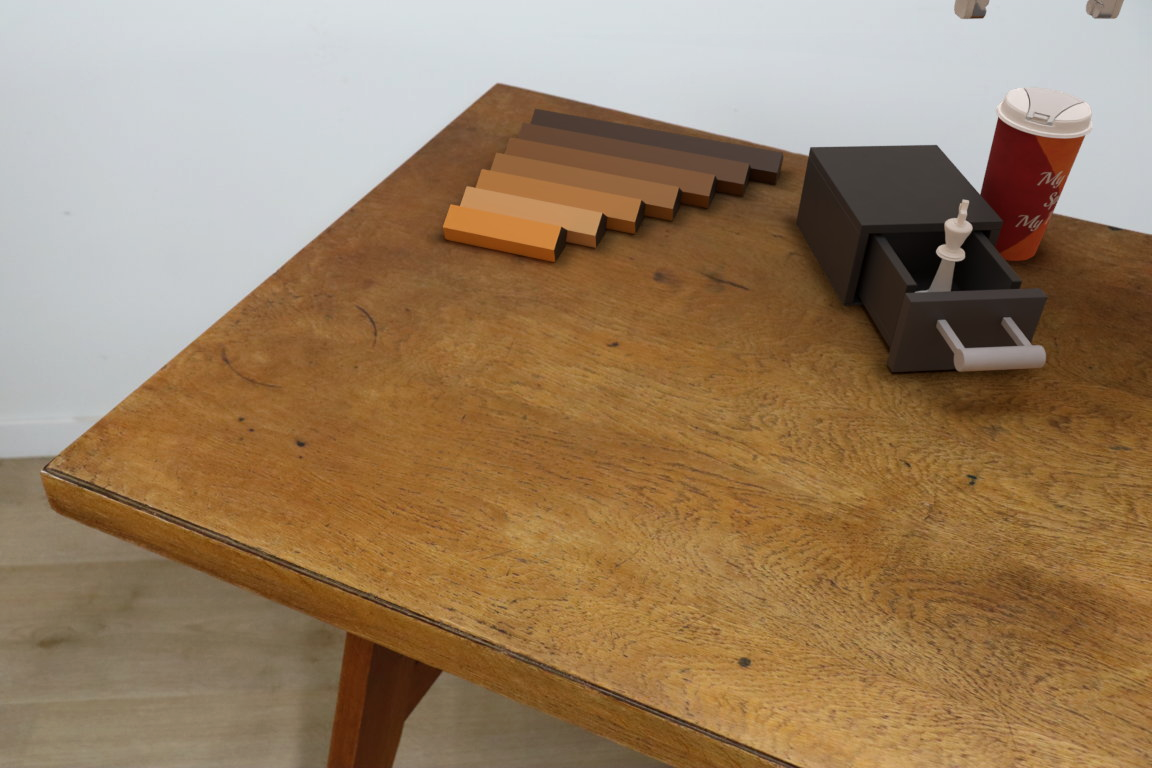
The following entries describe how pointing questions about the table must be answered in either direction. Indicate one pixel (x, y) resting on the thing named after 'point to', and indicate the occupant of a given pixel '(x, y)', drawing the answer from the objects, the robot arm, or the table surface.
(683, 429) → the table surface
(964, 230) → the chess piece
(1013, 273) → the drawer
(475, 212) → the pan flute
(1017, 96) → the paper cup
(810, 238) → the small storage cabinet
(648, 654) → the table surface
